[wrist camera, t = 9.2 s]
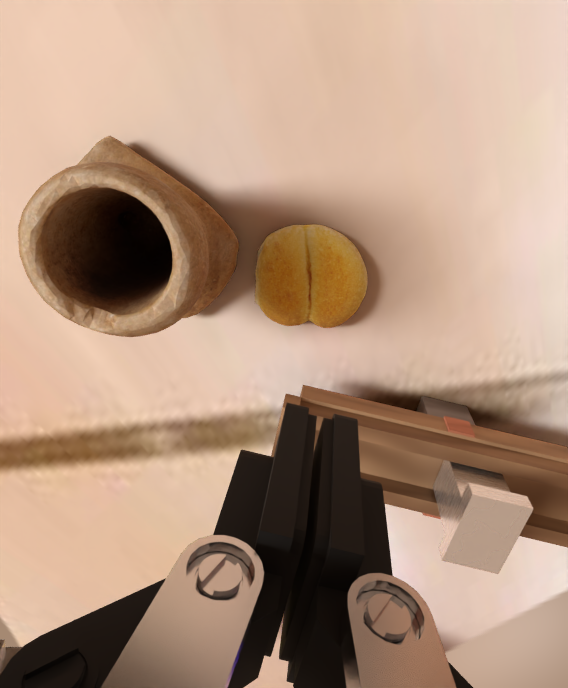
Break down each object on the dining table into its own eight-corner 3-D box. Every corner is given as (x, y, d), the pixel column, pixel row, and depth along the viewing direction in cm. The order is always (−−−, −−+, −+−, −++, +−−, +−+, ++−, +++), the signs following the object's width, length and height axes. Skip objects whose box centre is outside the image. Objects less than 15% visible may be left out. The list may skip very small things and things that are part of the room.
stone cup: (275, 219, 38) (237, 267, 24) (194, 328, 42) (123, 419, 29) (112, 89, 36) (-32, 59, 22) (44, 218, 40) (-111, 260, 26)
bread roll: (362, 323, 41) (364, 342, 37) (257, 317, 42) (248, 334, 38) (372, 224, 38) (375, 233, 34) (257, 219, 38) (248, 227, 35)
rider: (452, 439, 37) (472, 494, 31) (504, 451, 37) (533, 509, 31) (427, 499, 39) (441, 560, 34) (476, 510, 39) (498, 574, 34)
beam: (293, 358, 42) (283, 404, 35) (602, 430, 42) (656, 492, 35) (277, 427, 45) (264, 483, 38) (565, 495, 45) (608, 565, 38)
